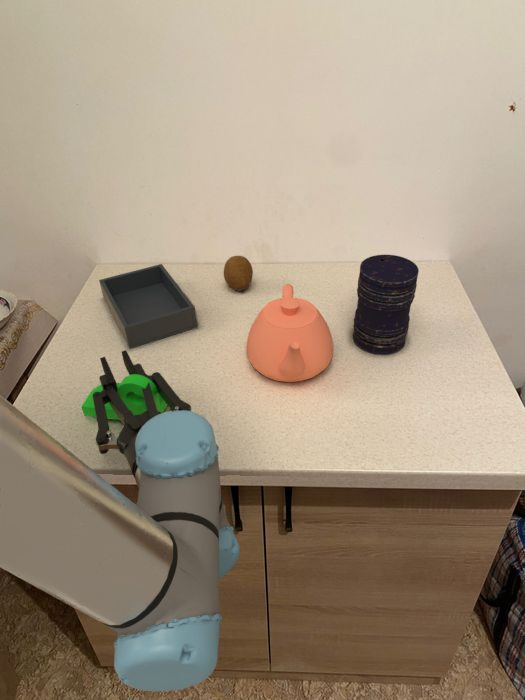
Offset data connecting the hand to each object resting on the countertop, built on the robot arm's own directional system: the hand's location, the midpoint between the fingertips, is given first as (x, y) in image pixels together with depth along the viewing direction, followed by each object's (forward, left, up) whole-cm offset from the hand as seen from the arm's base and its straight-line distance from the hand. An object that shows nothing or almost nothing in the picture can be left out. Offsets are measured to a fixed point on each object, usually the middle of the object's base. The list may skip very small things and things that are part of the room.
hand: (114, 360), depth 79 cm
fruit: (+31, +21, -7) cm, 38 cm away
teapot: (+28, -6, -7) cm, 30 cm away
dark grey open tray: (+11, +22, -7) cm, 25 cm away
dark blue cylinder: (+46, -8, -7) cm, 47 cm away
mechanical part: (0, -4, -6) cm, 8 cm away
